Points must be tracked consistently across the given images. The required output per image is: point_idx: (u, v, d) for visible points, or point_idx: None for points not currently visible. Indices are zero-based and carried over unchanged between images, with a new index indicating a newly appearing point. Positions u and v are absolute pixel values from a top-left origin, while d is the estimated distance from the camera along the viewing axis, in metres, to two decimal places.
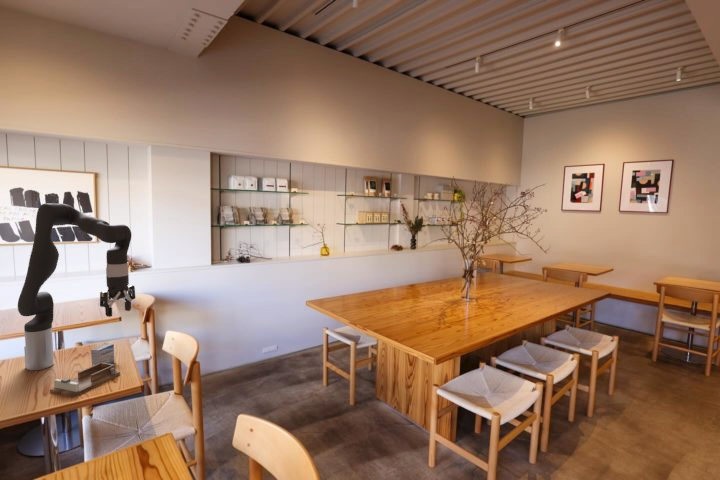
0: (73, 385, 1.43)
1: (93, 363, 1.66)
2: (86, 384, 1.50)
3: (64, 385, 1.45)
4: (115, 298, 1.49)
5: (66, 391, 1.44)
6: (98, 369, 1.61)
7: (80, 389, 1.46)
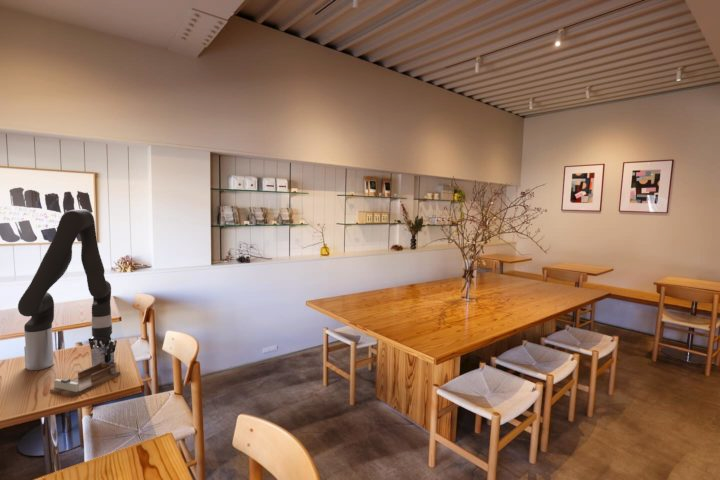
0: (73, 385, 1.43)
1: (93, 363, 1.66)
2: (86, 384, 1.50)
3: (64, 385, 1.45)
4: None
5: (66, 391, 1.44)
6: (98, 369, 1.61)
7: (80, 389, 1.46)
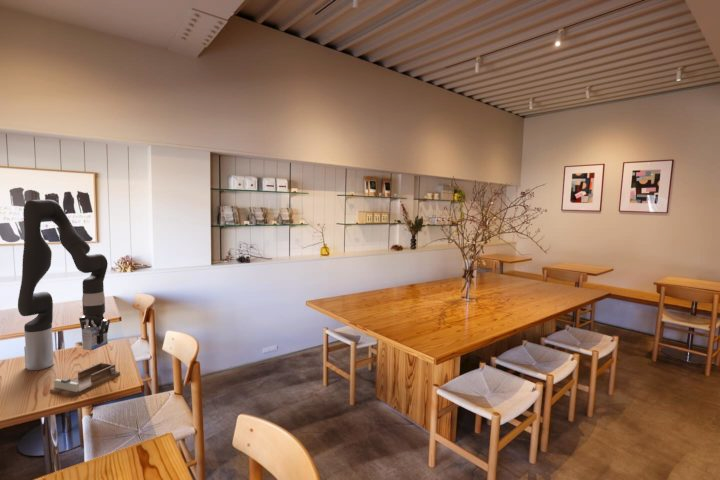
0: (73, 385, 1.43)
1: (84, 344, 1.52)
2: (86, 384, 1.50)
3: (64, 385, 1.45)
4: None
5: (66, 391, 1.44)
6: (98, 369, 1.61)
7: (80, 389, 1.46)
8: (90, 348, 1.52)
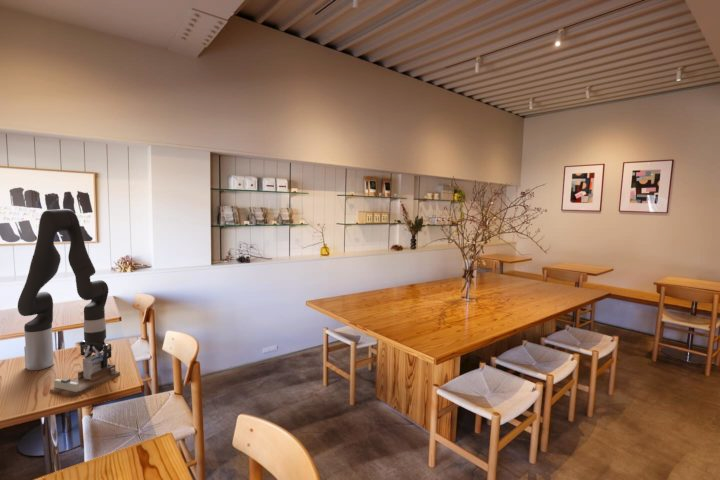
0: (73, 385, 1.43)
1: (85, 374, 1.54)
2: (86, 384, 1.50)
3: (64, 385, 1.45)
4: None
5: (66, 391, 1.44)
6: None
7: (80, 389, 1.46)
8: (90, 377, 1.53)
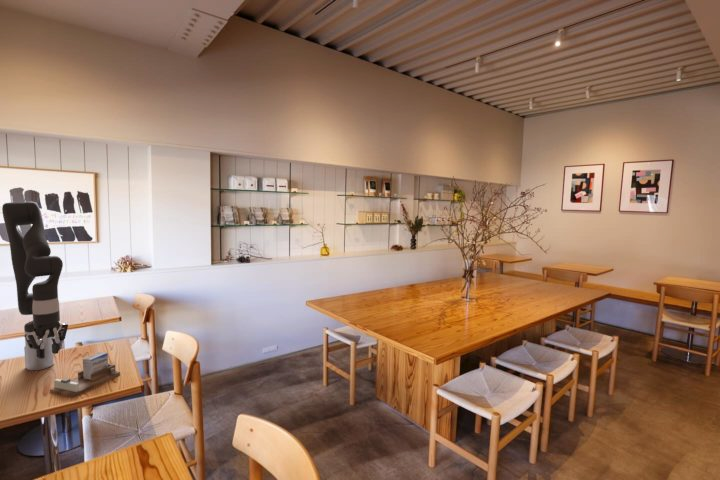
0: (73, 385, 1.43)
1: (85, 374, 1.54)
2: (86, 384, 1.50)
3: (64, 385, 1.45)
4: None
5: (66, 391, 1.44)
6: None
7: (80, 389, 1.46)
8: (90, 377, 1.53)
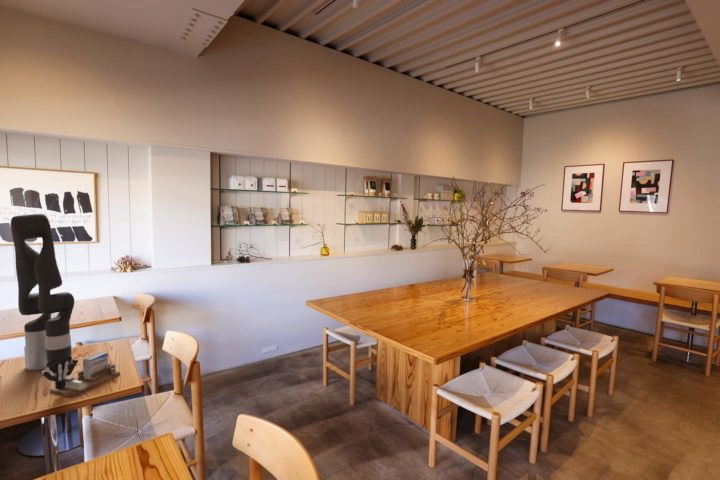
0: (77, 383, 1.45)
1: (85, 374, 1.54)
2: (86, 384, 1.50)
3: (67, 384, 1.46)
4: None
5: (66, 391, 1.44)
6: None
7: None
8: (90, 377, 1.53)
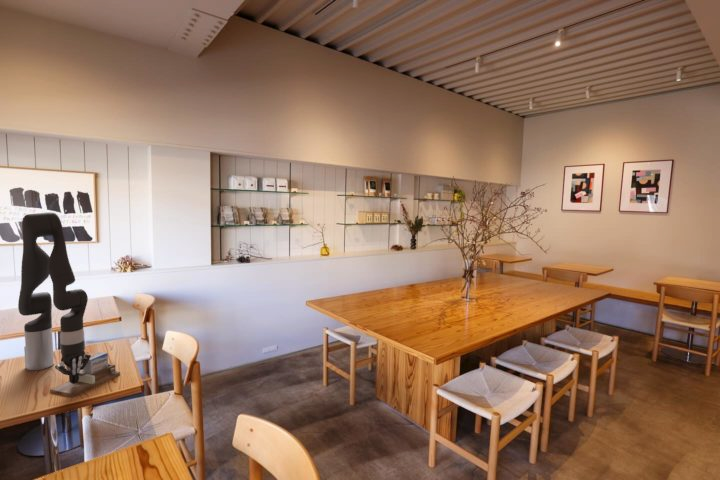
0: (90, 377, 1.50)
1: None
2: (86, 384, 1.50)
3: (80, 378, 1.51)
4: None
5: (66, 391, 1.44)
6: None
7: (80, 389, 1.46)
8: None
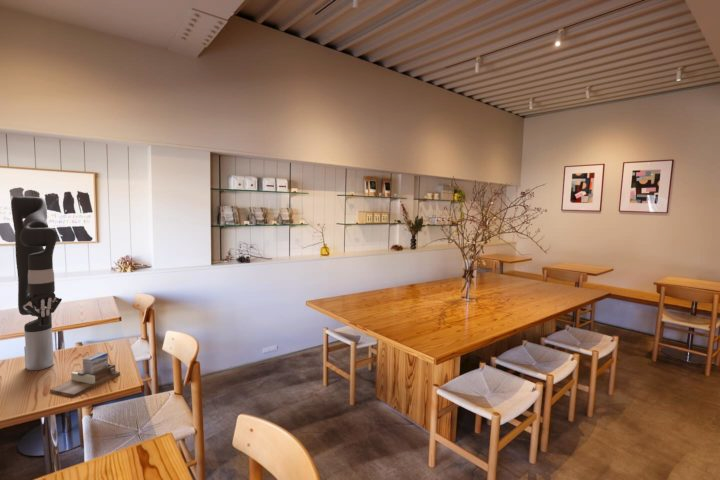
0: (90, 377, 1.50)
1: None
2: (86, 384, 1.50)
3: (80, 378, 1.51)
4: None
5: (66, 391, 1.44)
6: None
7: (80, 389, 1.46)
8: None
